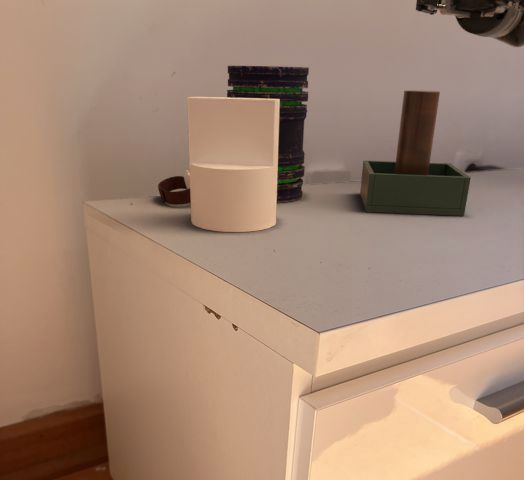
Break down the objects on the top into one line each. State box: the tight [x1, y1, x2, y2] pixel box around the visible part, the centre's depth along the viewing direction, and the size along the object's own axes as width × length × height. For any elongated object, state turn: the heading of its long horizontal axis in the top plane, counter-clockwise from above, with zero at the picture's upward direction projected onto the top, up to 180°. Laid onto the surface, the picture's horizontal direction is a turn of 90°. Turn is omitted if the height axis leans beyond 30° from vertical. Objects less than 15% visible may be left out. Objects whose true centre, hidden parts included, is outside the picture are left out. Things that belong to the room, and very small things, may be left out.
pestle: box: [394, 90, 441, 175], centre depth 68 cm, size 4×4×12 cm
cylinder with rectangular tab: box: [186, 96, 280, 233], centre depth 58 cm, size 9×9×12 cm
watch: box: [157, 169, 191, 206], centre depth 68 cm, size 8×5×4 cm, turn 27°
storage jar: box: [226, 65, 310, 204], centre depth 71 cm, size 10×10×15 cm
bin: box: [359, 159, 472, 217], centre depth 70 cm, size 11×11×4 cm
